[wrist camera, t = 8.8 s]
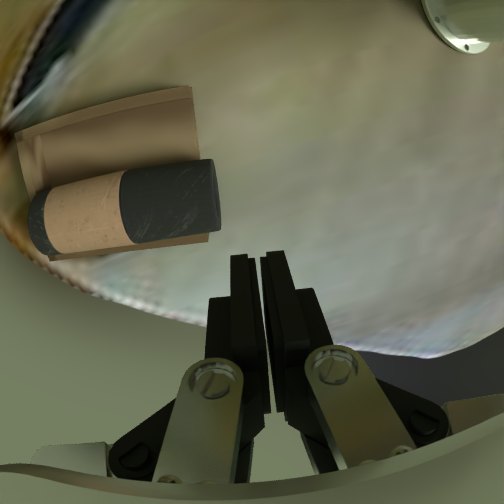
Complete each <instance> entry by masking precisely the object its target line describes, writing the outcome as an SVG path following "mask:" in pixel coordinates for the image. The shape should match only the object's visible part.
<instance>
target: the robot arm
mask: <svg viewBox="0 0 504 504" xmlns="http://www.w3.org/2000/svg"><path fill="white" fill-rule="evenodd" d="M421 1H422V5H423V9H424V12H425V14H426V16H427V18H428V20H429V22H430V24H431V25H432V27H433V29H434V30H435V31H436V33H437V34H438V35H439V36H440V37H441V38H442V39H443V41H444V42H445V43H447V44H448V45H449V46H450V47H452V48H453V49H455V50H457V51H459V52H462V53H465V54H478V53H481V52H483V51H484V50H486V49H487V47H488V46H489V44H490V43H494V42H504V0H421ZM260 264H261V277H262V290H263V304H264V317H265V328H266V336H267V343H268V350H269V358H270V364H271V373H272V379H273V387H274V395H275V402H276V409H277V413H278V412H284V416H285V421H288V424H289V425H290V426H292V427H294V428H295V429H297V430H299V431H300V435H301V439H302V441H303V444H304V447H305V449H306V452H307V455H308V458H309V460H310V463H311V465H312V468H313V470H314V473H315V475H313V476H306V477H299V478H292V479H285V480H276V481H266V482H254V483H250V476H251V467H252V458H253V448H254V437H255V436H256V435H257V434H258V433H259V432H260V431H261V430H262V429H263V428H264V427H265V425H264V424H265V423H264V414H269V413H271V405H270V390H269V376H268V362H267V349H266V339H265V331H264V324H263V316H262V309H261V301H260V293H259V286H258V278H257V271H256V263H255V258H248V254H241V255H231V256H230V290H231V296H227V297H216V298H210V299H209V306H208V318H207V332H206V345H205V359H204V360H200V361H198V362H197V363H195V364H193V365H192V366H191V367H190V368H189V369H188V370H187V371H186V372H185V374H184V376H183V378H182V381H181V385H180V387H179V391H178V394H177V397H176V398H175V399H174V400H172V401H171V402H170V403H168V404H167V405H166V406H164V407H163V408H162V409H160V410H159V411H157V412H156V413H155V414H153V415H152V416H151V417H149V418H148V419H146V420H145V421H144V422H142V423H141V424H140V425H138V426H137V427H135V428H134V429H132V430H131V431H130V432H128V433H127V434H125V435H124V436H123V437H121V438H120V439H119V440H117V441H116V442H115V443H114V444H107V443H106V442H95V443H82V444H65V445H48V446H43V447H41V448H40V449H38V450H37V451H36V452H35V453H34V455H33V456H32V459H31V463H30V464H26V463H25V464H24V463H16V464H4V465H0V504H504V394H496V395H491V396H485V397H479V398H474V399H467V400H460V401H452V402H446V404H445V405H444V406H438V405H437V404H435V403H433V402H431V401H429V400H426V399H424V398H421V397H419V396H417V395H414V394H412V393H410V392H407V391H405V390H402V389H400V388H398V387H395V386H393V385H391V384H388V383H386V382H384V381H381V380H379V379H377V378H375V377H374V376H373V374H372V373H371V371H370V369H369V368H368V366H367V365H366V363H365V361H364V360H363V358H362V357H361V356H360V355H359V354H358V353H357V352H356V351H354V350H353V349H351V348H349V347H346V346H342V345H334V344H333V341H332V338H331V335H330V332H329V330H328V327H327V324H326V321H325V319H324V316H323V313H322V310H321V308H320V305H319V302H318V299H317V297H316V294H315V291H314V289H313V288H305V289H296V290H295V286H294V283H293V280H292V276H291V273H290V270H289V266H288V263H287V260H286V256H285V253H284V250H282V251H272V252H266V257H260Z"/></svg>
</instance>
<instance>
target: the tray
mask: <svg viewBox="0 0 504 504" xmlns="http://www.w3.org/2000/svg"><path fill="white" fill-rule="evenodd" d="M15 139H16V144H17V149H18V154H19V159H20V164H21V168H22V172H23V177H24V181H25V185H26V189H27V192H28V196H29V200H30V203H31V201H32V199H33V198H34V196H35V195H36V194H37V193H39V192H41V191H44V190H47V189H51V188H55V187H58V186H62V185H66V184H69V183H73V182H77V181H81V180H85V179H89V178H93V177H97V176H102V175H106V174H110V173H115V172H119V171H124V170H129V169H135V168H141V167H148V166H155V165H162V164H169V163H176V162H184V161H193V160H200V154H199V146H198V138H197V130H196V122H195V113H194V104H193V96H192V87H189V86H182V87H176V88H170V89H165V90H159V91H154V92H149V93H144V94H140V95H135V96H131V97H126V98H122V99H118V100H114V101H110V102H106V103H103V104H99V105H95V106H92V107H88V108H85V109H81V110H78V111H75V112H72V113H69V114H65V115H62V116H59V117H56V118H54V119H51V120H48V121H45V122H42V123H40V124H37V125H34V126H32V127H29V128H26V129H24V130H21V131H19V132H17V133H15ZM208 239H209V232H208V233H202V234H196V235H190V236H184V237H177V238H171V239H165V240H159V241H153V242H147V243H141V244H135V245H127V246H119V247H111V248H104V249H96V250H89V251H81V252H74V253H67V254H59V255H52V256H48V258H49V261H57V260H64V259H72V258H80V257H87V256H95V255H103V254H111V253H119V252H127V251H135V250H143V249H152V248H160V247H168V246H177V245H185V244H194V243H203V242H208Z"/></svg>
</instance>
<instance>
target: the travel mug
mask: <svg viewBox="0 0 504 504" xmlns="http://www.w3.org/2000/svg"><path fill="white" fill-rule="evenodd" d="M28 228H29V233H30V236H31V239H32V241H33V243H34V245H35V247H36V248H37V249H38V250H39V251H40V252H41V253H42V254H44V255H48V256H52V255H59V254H67V253H74V252H81V251H89V250H96V249H104V248H111V247H119V246H127V245H135V244H141V243H147V242H153V241H159V240H165V239H171V238H177V237H184V236H190V235H196V234H202V233H208V232H214V231H219V230H221V211H220V200H219V192H218V184H217V177H216V171H215V166H214V162H213V160H212V159H202V160H193V161H184V162H176V163H169V164H162V165H155V166H148V167H141V168H135V169H129V170H124V171H119V172H115V173H110V174H106V175H102V176H97V177H93V178H89V179H85V180H81V181H77V182H73V183H69V184H66V185H62V186H58V187H55V188H51V189H47V190H44V191H41V192H39V193H37V194H36V195H35V196H34V198H33V199H32V201H31V203H30V206H29V211H28Z"/></svg>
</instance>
